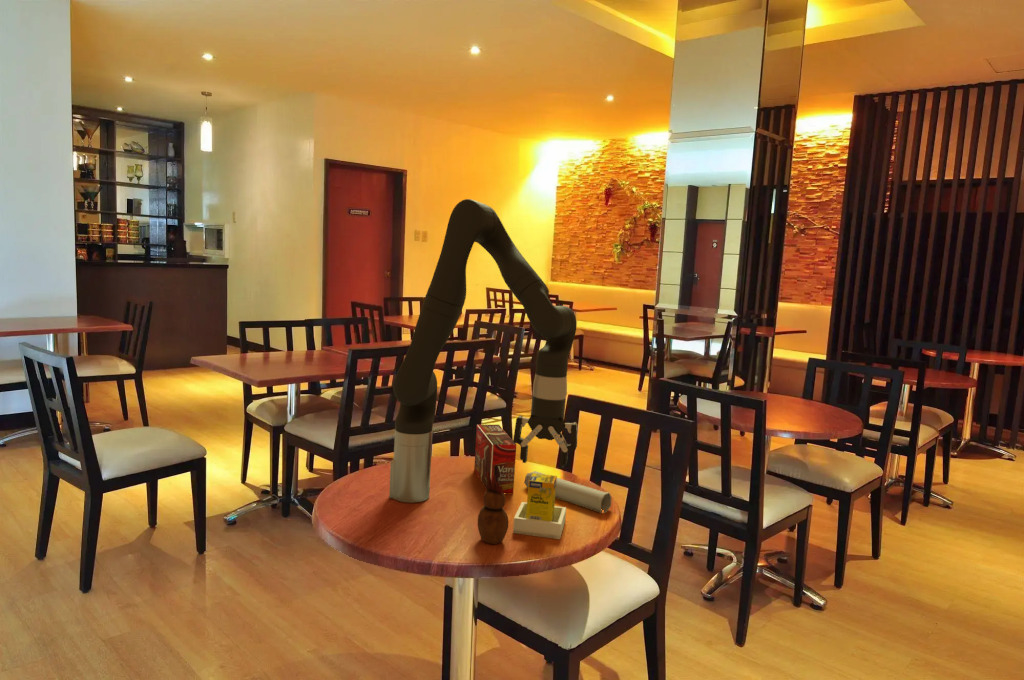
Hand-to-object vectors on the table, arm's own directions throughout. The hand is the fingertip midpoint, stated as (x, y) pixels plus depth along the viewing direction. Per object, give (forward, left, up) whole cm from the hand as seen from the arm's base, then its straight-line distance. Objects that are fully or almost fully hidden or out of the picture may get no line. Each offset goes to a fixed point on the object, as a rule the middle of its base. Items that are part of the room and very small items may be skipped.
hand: (543, 464), depth 157 cm
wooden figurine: (-9, -11, -15) cm, 21 cm away
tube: (+3, +21, -15) cm, 26 cm away
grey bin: (0, 0, -15) cm, 15 cm away
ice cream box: (-17, +28, -15) cm, 36 cm away
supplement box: (0, 0, -14) cm, 14 cm away
